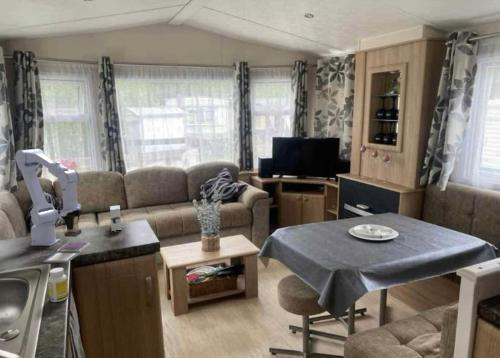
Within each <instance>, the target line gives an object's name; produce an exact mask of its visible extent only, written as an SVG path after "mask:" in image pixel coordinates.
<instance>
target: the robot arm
mask: <svg viewBox="0 0 500 358" xmlns="http://www.w3.org/2000/svg"><path fill="white" fill-rule="evenodd" d="M14 159H15V163H16V165H17V168H18V170H19V171H20V173H21V176H22V177H23V180H24V183H25V185H26V188H27V190H28V193H29V195H30V198H31V201H32V204H33V207H32V209H31V210H30V212H29V213H30V217H31V218H30V220H31V222H32V224H33V225H32V226H31V228H30V238H31V239H30V240H31V244H30V246H45V247H46V246H53V245H55V244H56V243H58V242H59V241H60V240H61V238H57V237H56V235H57V234H56V225H55V224H56V223H57V220H58V219H59V214H60V217H61V218H62V220H63V222H64V223H65V226H66V230H67V229H73V223H74V217H75V216H78V221H79V220H80V216H81V214H82V209H81V208H82V204H81V203H79V202H78V200H79V199H78V189H77V187H78V186H77V183H78V181H80V180H79V179H80V175H79V172H78V171H77V170H76V169H74V168H73V169H69V168H68V167H66V166H64V165H63V164H61V162H60V161H54V160H51V159H50V158H49V157H48V156H47V155H45V153H44V151H43V150H42V149H40V148H32V149H19V150H17V151H16V153H15V157H14ZM40 165H41V166H43V167H45V168H47V171H48V173H50V174H51V175H52V176H54V177H55V178H57V180H58V183H59V185H60V186H59V187H60V189H61V192H62V204H63V205H62V206H63V208H62V210H61V211H60V212H59V213H58V211H57V209H55V207H54V204H51V203H49V202H47V199H46V197H45V193H44V191H43V189H42V185H41V183H40V180H39V178H38V176H37V173H36V170H37V168H39V166H40Z"/></svg>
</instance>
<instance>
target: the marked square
mask: <svg viewBox="0 0 500 358" xmlns="http://www.w3.org/2000/svg"><path fill="white" fill-rule="evenodd" d="M79 254H81V253H80V252H57V251H56V252H55V253H53V254H52V255H50V256H49V257H47V258H46V259H44V260H43V263H69V262H70V261H71V260H73V259H74V258H76V257H77V256H79Z"/></svg>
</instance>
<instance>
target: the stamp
mask: <svg viewBox="0 0 500 358" xmlns="http://www.w3.org/2000/svg"><path fill="white" fill-rule="evenodd" d="M63 234H64V237H69V238H72V237H74V238H75V237H78V236H80V234H82V229H80V228H79V220H78V216H75V217H74V223H73V229H67V228H66V231H65V232H64V233H63Z"/></svg>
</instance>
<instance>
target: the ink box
mask: <svg viewBox="0 0 500 358" xmlns="http://www.w3.org/2000/svg"><path fill="white" fill-rule="evenodd" d="M109 209H110V210H109V213H110V225H111V226H110V227H111V228H110V229H111V232H112V231H114V232H117V231H116V230H121V231H122V217H121V206H120V204H119V205H111V206H109Z"/></svg>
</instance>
